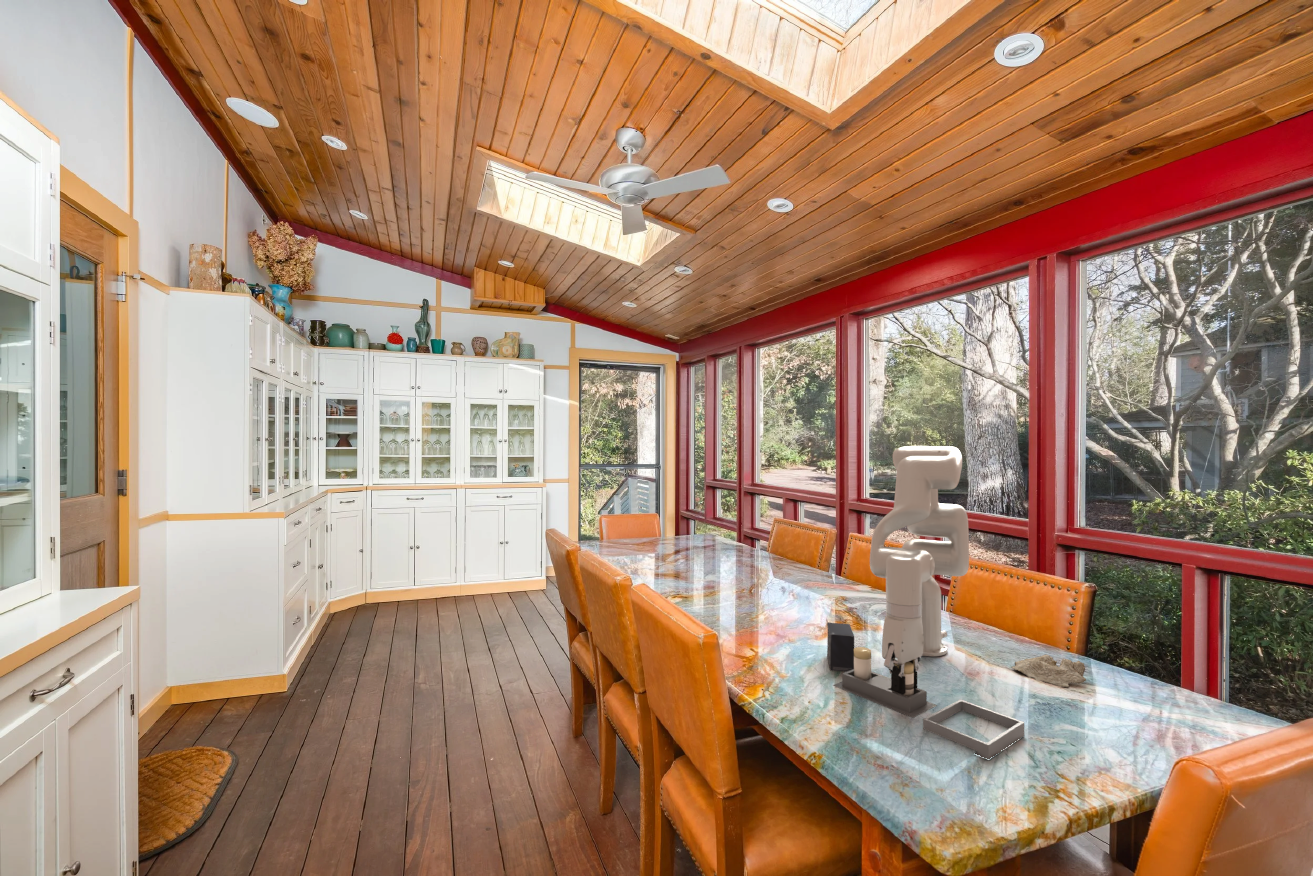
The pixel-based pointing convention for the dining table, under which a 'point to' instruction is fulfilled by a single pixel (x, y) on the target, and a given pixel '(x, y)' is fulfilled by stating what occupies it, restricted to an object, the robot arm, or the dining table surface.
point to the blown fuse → (908, 678)
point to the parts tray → (981, 747)
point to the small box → (840, 647)
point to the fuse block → (885, 693)
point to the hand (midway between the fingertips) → (904, 688)
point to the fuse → (862, 663)
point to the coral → (1052, 670)
